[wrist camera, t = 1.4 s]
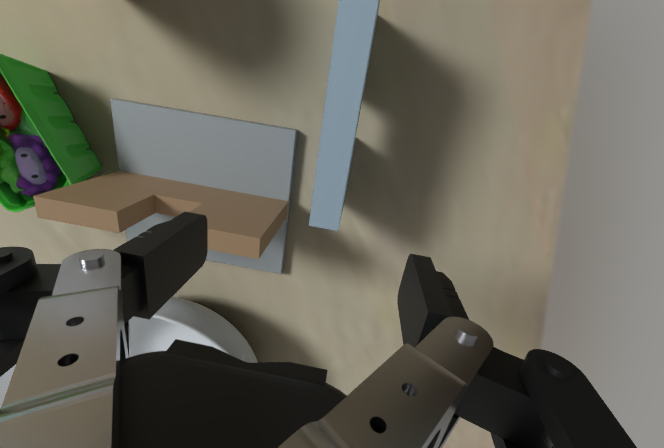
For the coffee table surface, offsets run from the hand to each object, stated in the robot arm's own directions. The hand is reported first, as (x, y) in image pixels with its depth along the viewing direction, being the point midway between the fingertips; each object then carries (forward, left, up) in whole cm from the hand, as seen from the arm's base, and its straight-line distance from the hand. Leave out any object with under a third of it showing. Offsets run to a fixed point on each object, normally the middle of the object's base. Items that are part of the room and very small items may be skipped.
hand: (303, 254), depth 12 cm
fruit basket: (+1, -27, -17) cm, 32 cm away
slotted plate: (-5, 0, -16) cm, 17 cm away
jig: (+4, -12, -16) cm, 21 cm away
